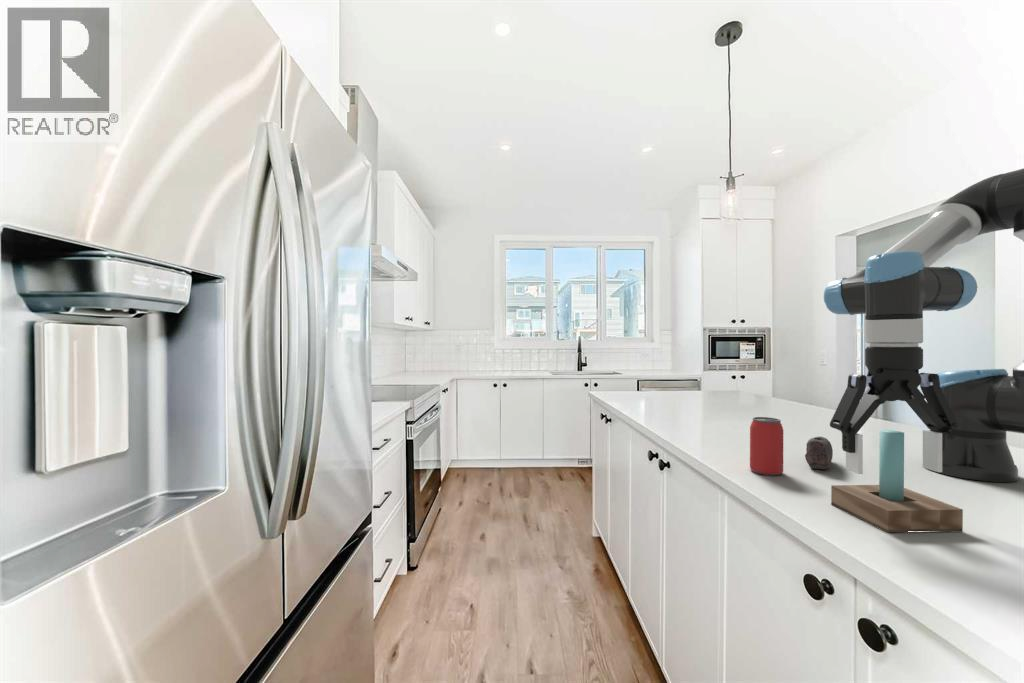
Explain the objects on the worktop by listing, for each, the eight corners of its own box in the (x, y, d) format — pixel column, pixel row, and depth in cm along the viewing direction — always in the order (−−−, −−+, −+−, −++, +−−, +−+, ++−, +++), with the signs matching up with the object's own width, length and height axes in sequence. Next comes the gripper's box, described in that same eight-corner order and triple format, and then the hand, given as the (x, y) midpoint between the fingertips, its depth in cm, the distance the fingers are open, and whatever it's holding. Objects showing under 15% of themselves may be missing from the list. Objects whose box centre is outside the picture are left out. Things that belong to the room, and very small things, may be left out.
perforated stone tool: (810, 457, 116) (810, 429, 116) (835, 460, 112) (836, 432, 112) (802, 470, 104) (802, 440, 104) (830, 475, 101) (830, 443, 101)
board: (895, 503, 83) (895, 484, 83) (962, 531, 71) (962, 509, 71) (831, 504, 83) (831, 485, 83) (888, 533, 71) (888, 510, 71)
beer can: (788, 477, 99) (788, 422, 99) (755, 475, 100) (755, 421, 100) (776, 468, 105) (777, 417, 105) (746, 467, 106) (746, 416, 106)
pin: (892, 510, 78) (892, 429, 78) (908, 517, 75) (909, 433, 75) (874, 510, 78) (874, 429, 78) (890, 518, 75) (890, 433, 75)
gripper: (942, 343, 81) (943, 462, 81) (805, 345, 80) (806, 465, 80) (988, 344, 73) (988, 475, 73) (837, 346, 72) (837, 479, 73)
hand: (893, 470), depth 77 cm, fingers open, 13 cm apart
